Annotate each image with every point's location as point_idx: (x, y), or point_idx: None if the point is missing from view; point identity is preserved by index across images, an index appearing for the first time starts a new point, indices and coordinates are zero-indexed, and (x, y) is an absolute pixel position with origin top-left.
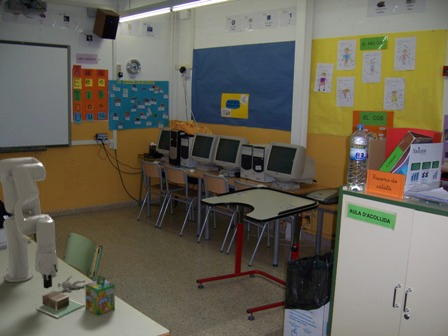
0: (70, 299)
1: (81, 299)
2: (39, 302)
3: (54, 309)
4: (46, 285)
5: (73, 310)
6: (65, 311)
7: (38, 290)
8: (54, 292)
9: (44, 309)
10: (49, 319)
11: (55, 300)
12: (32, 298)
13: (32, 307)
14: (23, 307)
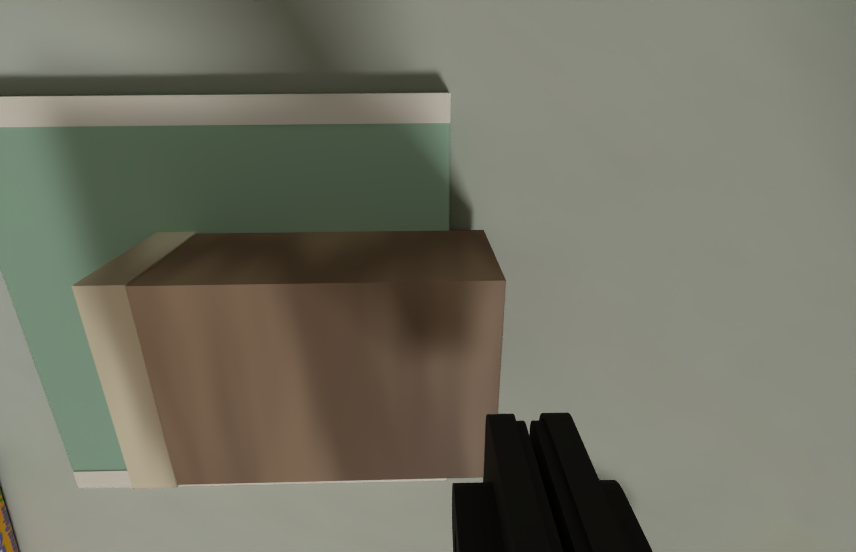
0: (315, 481)
1: (256, 538)
2: (589, 249)
3: (213, 227)
4: (497, 474)
5: (36, 351)
6: (52, 275)
7: (850, 425)
8: (435, 451)
9: (318, 143)
10: (2, 4)
11: (132, 294)
12: (763, 265)
13: (550, 98)
14: (670, 11)
